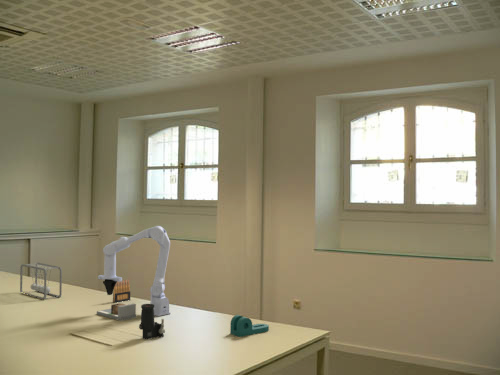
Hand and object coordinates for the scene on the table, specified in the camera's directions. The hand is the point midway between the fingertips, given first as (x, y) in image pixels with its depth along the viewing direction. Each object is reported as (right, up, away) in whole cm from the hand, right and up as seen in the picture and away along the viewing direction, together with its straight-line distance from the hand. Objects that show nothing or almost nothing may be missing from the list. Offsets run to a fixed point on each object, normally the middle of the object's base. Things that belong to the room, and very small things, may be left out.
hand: (109, 294), depth 268 cm
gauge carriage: (+6, -7, -7) cm, 12 cm away
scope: (+29, -9, -44) cm, 53 cm away
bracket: (+72, -10, -34) cm, 80 cm away
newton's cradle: (-52, -10, +43) cm, 68 cm away
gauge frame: (+5, -9, -6) cm, 12 cm away
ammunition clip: (-1, -10, +29) cm, 31 cm away
